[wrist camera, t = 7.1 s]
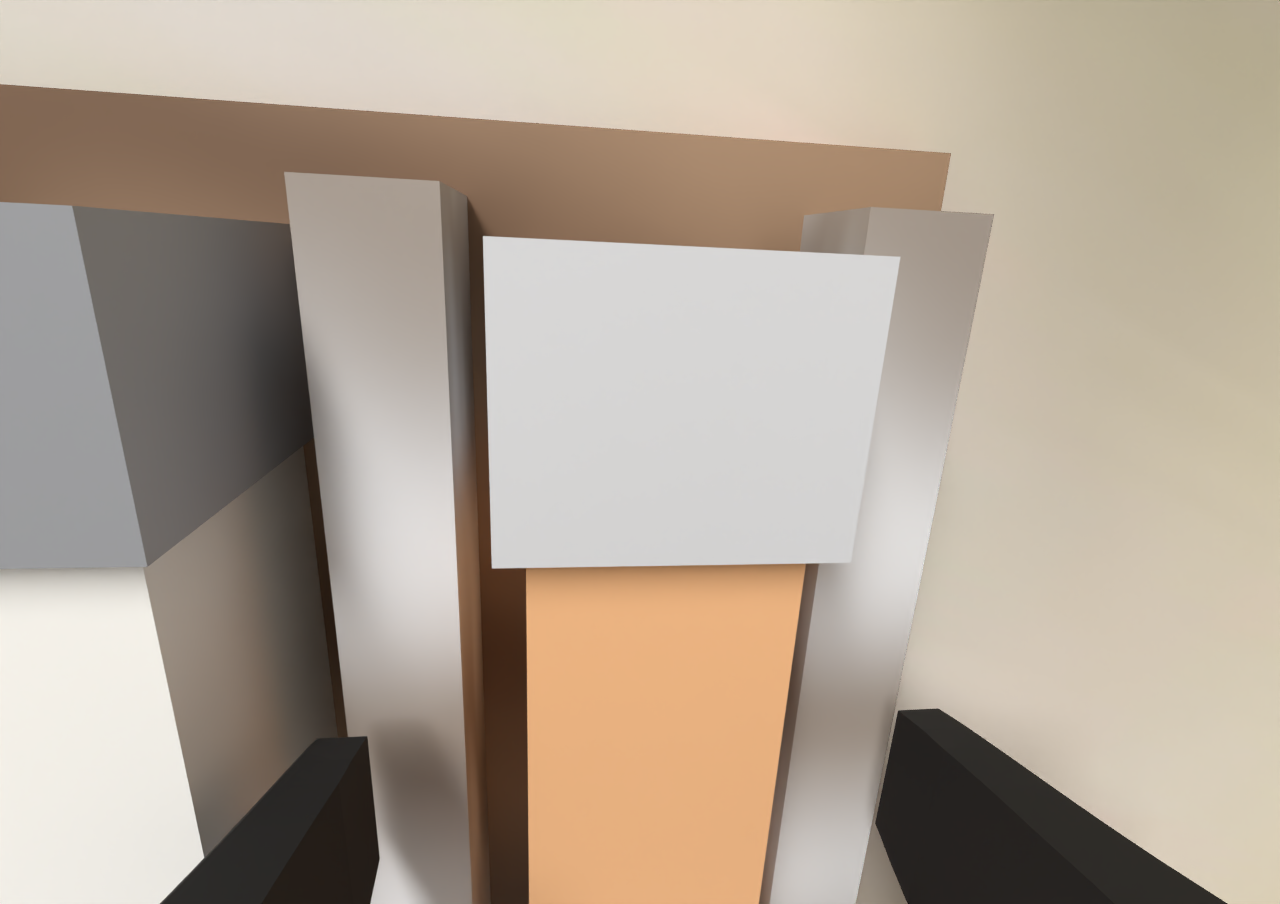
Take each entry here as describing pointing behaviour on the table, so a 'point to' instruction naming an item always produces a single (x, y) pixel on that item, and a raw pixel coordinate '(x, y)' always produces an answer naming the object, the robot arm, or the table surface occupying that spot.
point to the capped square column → (669, 535)
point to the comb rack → (458, 422)
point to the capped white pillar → (149, 545)
